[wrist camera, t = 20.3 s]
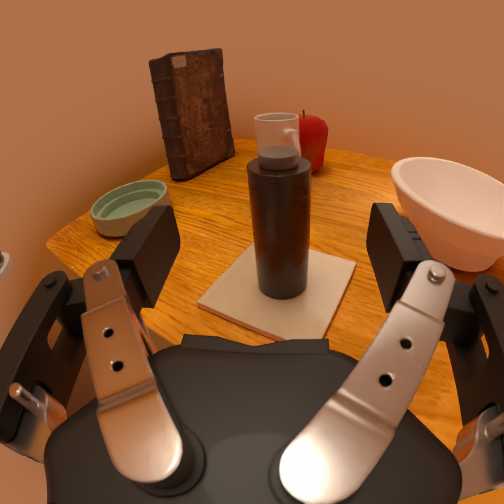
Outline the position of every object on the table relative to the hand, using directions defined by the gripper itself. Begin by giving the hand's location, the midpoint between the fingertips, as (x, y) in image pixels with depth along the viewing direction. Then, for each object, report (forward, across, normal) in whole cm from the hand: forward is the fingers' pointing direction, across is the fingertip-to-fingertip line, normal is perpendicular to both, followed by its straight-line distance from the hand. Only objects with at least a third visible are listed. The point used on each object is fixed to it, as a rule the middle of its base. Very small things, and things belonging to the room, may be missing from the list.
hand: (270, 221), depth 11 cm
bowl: (+18, -23, +15) cm, 33 cm away
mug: (+33, 0, +15) cm, 36 cm away
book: (+46, +17, +15) cm, 52 cm away
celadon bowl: (+26, +24, +15) cm, 38 cm away
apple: (+42, -4, +15) cm, 45 cm away
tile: (+11, 0, +14) cm, 18 cm away
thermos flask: (+11, 0, +14) cm, 17 cm away
